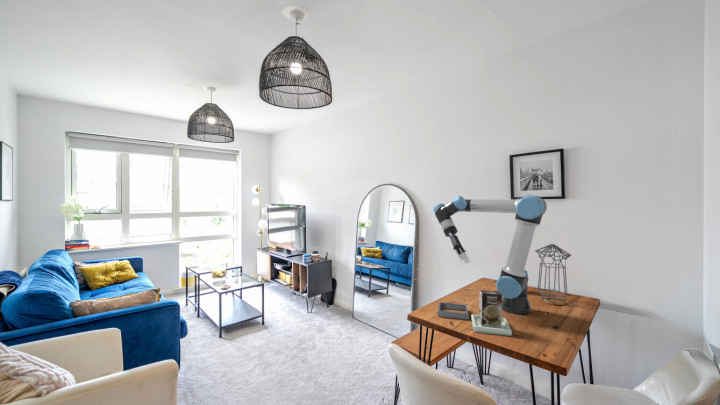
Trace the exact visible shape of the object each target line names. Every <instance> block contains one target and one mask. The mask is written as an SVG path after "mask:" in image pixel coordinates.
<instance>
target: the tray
mask: <svg viewBox="0 0 720 405" xmlns="http://www.w3.org/2000/svg"><path fill="white" fill-rule="evenodd" d="M470 317H471V319H470V320H471V326H472V330H473V333H481V334H489V335H498V336H506V337H512V335H513V334H512V329H511V326H510V325H509V323H508V321H507V319H506V317H502V320H501V329H500V328H490V327H481V325H480V323H479V314H471V316H470Z"/></svg>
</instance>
